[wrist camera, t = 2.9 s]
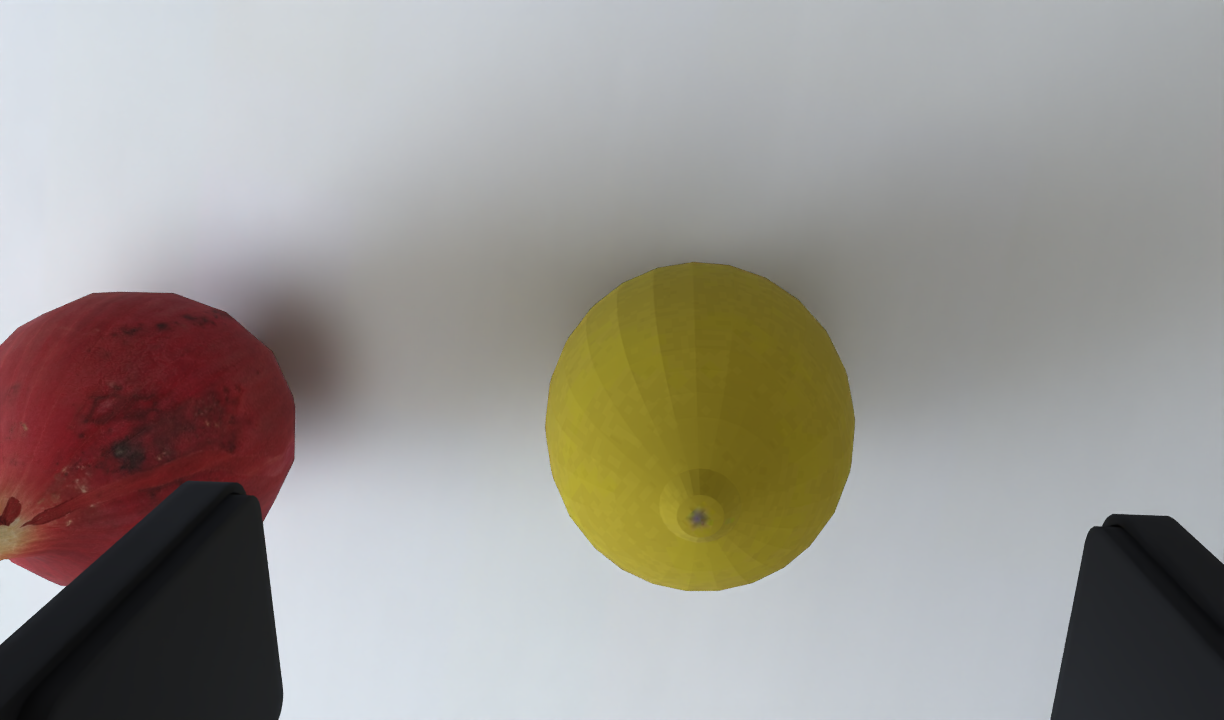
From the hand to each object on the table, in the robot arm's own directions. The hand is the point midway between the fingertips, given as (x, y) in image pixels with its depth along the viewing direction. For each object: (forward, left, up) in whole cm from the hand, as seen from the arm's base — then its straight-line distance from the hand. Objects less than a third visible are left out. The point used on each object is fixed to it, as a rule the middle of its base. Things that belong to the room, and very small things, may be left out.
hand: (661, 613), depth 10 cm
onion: (+10, +1, -11) cm, 15 cm away
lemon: (-1, 0, -11) cm, 11 cm away
